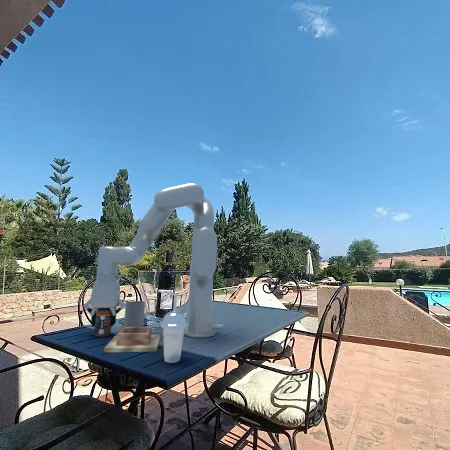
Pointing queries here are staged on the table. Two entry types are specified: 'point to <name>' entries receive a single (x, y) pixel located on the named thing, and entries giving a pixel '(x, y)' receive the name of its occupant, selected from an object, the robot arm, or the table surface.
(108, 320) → the supplement bottle
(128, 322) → the grey upright block
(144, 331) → the bottle holder
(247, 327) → the table surface
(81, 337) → the table surface
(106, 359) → the table surface
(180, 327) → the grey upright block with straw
